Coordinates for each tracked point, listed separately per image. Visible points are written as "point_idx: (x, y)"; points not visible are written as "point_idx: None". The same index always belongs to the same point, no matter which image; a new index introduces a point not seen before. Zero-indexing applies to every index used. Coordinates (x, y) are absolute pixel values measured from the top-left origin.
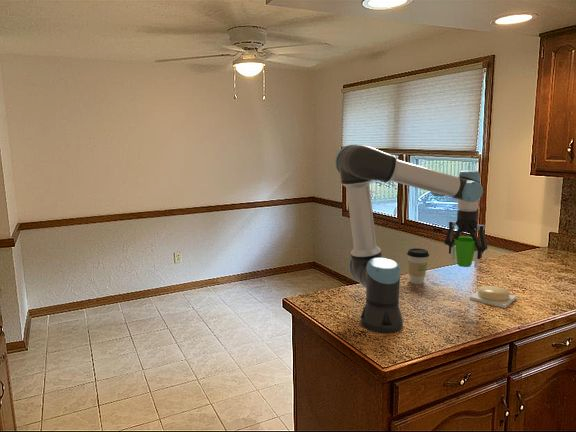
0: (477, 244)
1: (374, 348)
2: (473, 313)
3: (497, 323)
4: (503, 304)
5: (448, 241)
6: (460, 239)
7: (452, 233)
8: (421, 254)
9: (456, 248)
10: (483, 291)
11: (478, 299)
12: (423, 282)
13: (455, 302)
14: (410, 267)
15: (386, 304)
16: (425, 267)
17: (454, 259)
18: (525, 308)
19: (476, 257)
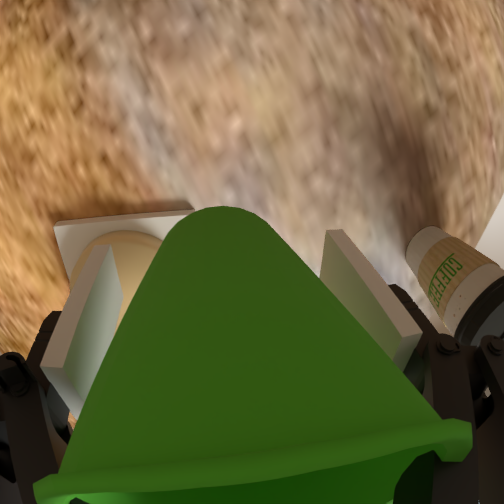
0: (20, 460)
1: None
2: (108, 67)
3: (12, 59)
4: (60, 229)
5: (475, 390)
6: (357, 490)
7: (479, 499)
8: (490, 304)
9: (351, 316)
10: (148, 262)
11: (155, 216)
12: (406, 256)
13: (225, 129)
14: (479, 252)
15: None
16: (436, 287)
17: (327, 284)
18: (26, 268)
19: (68, 308)
